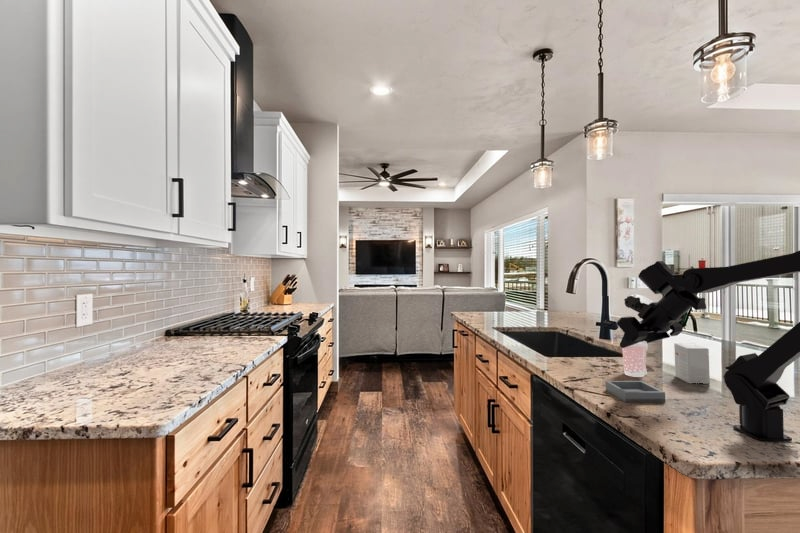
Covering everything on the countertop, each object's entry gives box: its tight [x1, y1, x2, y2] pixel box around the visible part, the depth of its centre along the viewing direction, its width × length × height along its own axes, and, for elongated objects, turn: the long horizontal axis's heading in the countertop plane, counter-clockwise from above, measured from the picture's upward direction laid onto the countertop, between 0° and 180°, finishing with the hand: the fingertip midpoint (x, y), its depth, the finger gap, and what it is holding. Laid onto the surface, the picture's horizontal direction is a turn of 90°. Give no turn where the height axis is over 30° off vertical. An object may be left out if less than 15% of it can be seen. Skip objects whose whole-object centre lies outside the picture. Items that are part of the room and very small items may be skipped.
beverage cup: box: [620, 340, 647, 378], centre depth 103 cm, size 6×6×14 cm
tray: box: [605, 380, 666, 403], centre depth 102 cm, size 10×10×2 cm
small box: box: [673, 342, 711, 385], centre depth 116 cm, size 8×6×10 cm
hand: (628, 345), depth 104 cm, fingers closed on beverage cup, 6 cm apart
